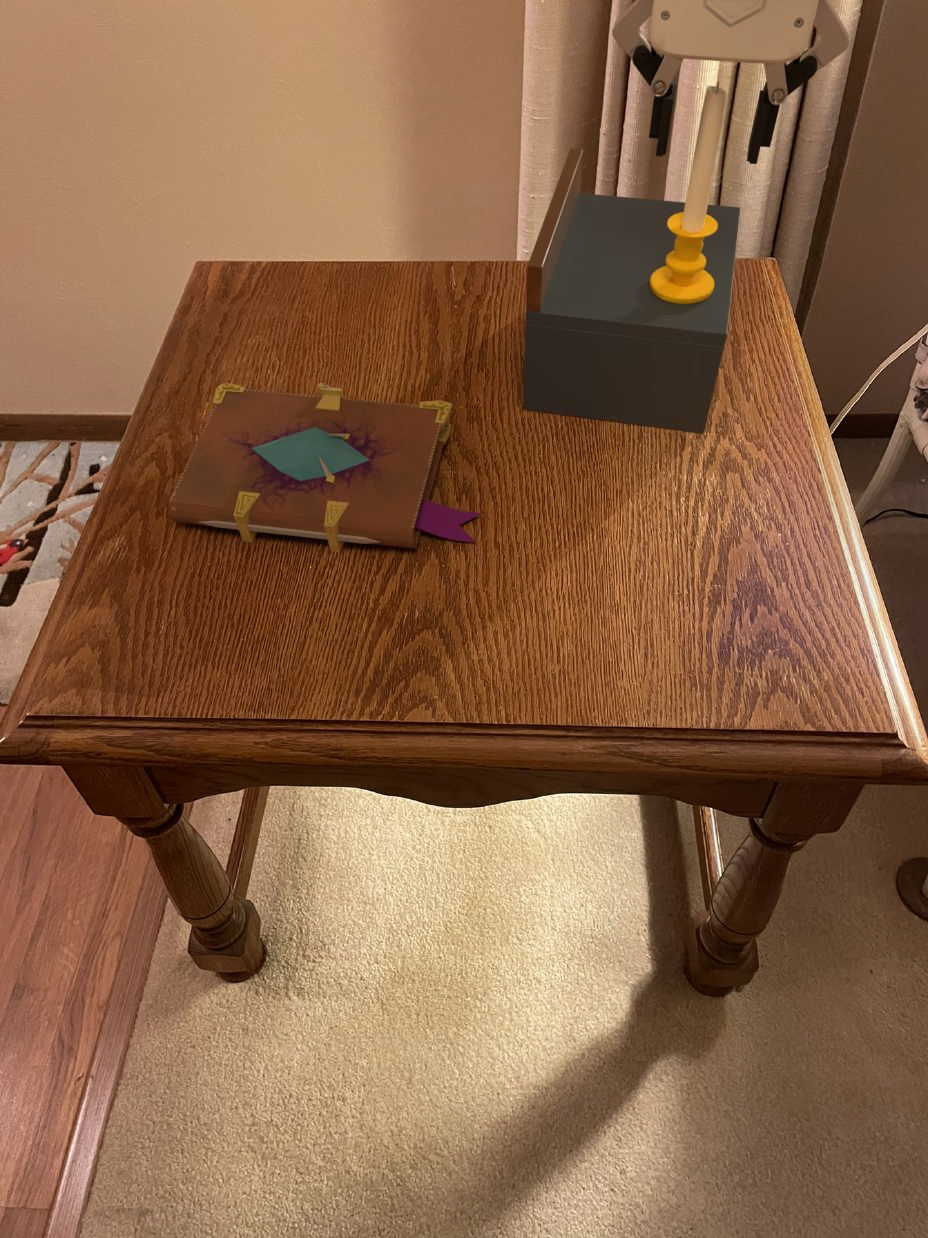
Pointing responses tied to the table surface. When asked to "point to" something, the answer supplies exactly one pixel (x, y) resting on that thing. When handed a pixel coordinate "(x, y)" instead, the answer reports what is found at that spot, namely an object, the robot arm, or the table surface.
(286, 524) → the book
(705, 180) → the candle
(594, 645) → the table surface
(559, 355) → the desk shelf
